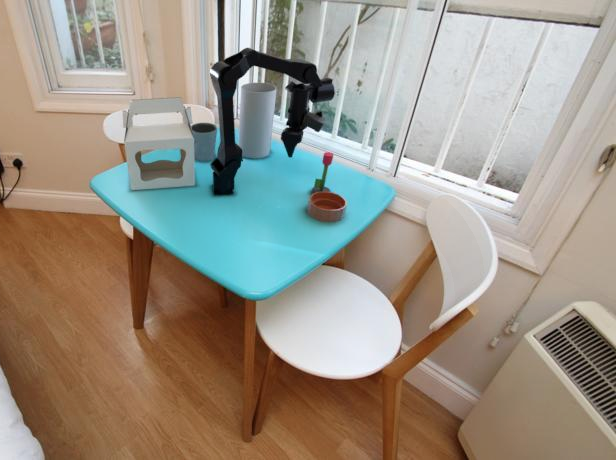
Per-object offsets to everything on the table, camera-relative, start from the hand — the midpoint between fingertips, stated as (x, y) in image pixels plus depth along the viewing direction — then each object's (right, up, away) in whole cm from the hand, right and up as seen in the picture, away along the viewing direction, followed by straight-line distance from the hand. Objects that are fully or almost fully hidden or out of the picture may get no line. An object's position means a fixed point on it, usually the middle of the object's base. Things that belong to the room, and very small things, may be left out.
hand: (292, 151), depth 125 cm
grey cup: (-29, +2, +21) cm, 36 cm away
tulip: (+8, -14, -3) cm, 17 cm away
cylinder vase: (-9, +4, +23) cm, 26 cm away
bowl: (+7, -21, -12) cm, 25 cm away
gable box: (-44, -8, +7) cm, 45 cm away
